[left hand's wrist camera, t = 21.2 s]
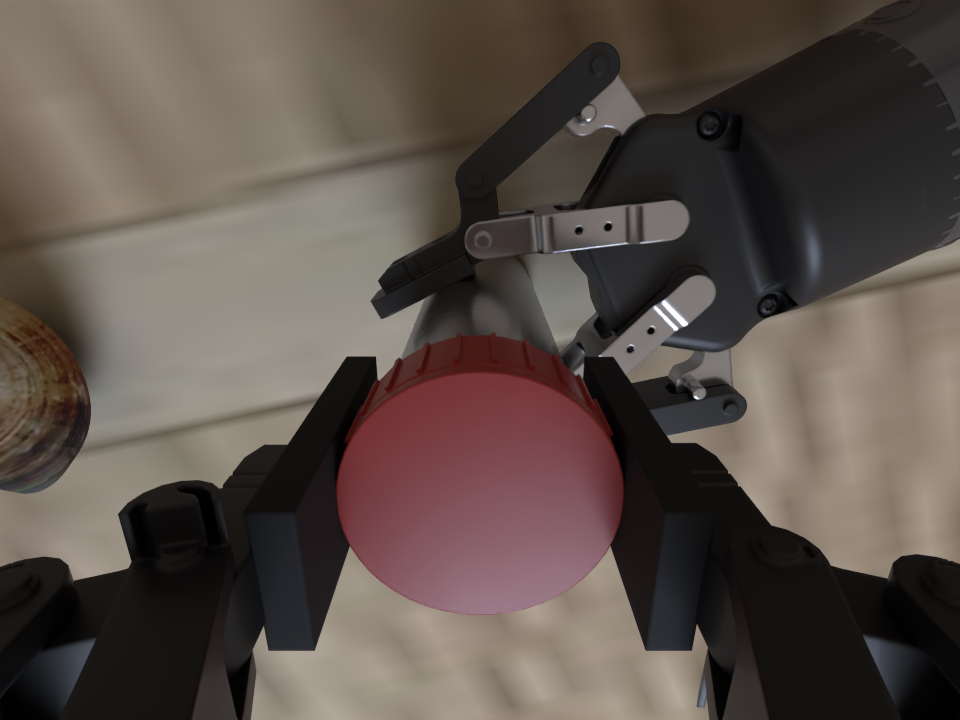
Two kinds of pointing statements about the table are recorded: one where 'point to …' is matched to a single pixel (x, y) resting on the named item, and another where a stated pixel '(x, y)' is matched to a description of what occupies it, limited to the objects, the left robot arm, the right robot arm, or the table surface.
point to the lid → (480, 477)
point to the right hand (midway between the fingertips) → (418, 366)
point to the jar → (485, 308)
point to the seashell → (37, 402)
